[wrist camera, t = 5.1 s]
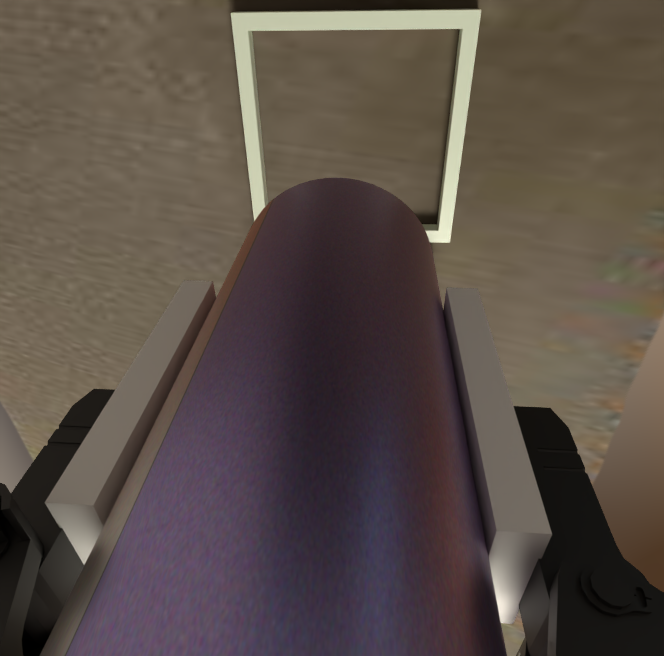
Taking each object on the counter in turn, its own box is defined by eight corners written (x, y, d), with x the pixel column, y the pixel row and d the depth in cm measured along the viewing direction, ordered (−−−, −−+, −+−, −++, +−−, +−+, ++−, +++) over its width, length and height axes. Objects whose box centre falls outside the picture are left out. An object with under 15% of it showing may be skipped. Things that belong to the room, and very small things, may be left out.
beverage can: (357, 126, 14) (195, 1256, 2) (465, 276, 16) (714, 1165, 4) (211, 242, 16) (-271, 1035, 4) (326, 357, 19) (229, 1062, 7)
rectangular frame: (235, 11, 26) (230, 12, 25) (478, 8, 25) (481, 9, 24) (259, 232, 33) (256, 238, 33) (448, 235, 33) (449, 242, 32)
